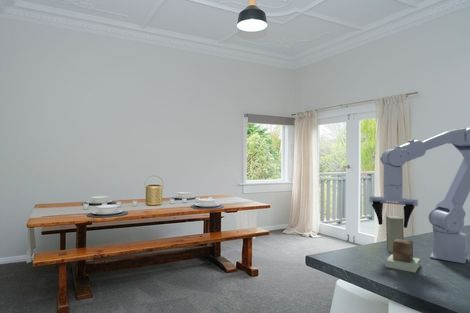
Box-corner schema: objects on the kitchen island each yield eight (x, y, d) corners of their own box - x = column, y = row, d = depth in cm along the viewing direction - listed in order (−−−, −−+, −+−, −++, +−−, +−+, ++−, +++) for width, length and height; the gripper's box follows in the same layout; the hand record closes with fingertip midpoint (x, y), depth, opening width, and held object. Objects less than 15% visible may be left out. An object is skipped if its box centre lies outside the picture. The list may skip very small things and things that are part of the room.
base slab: (419, 265, 99) (419, 258, 99) (415, 272, 93) (415, 265, 93) (391, 260, 104) (391, 253, 104) (385, 266, 98) (385, 260, 98)
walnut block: (412, 259, 99) (413, 241, 99) (409, 262, 95) (409, 244, 95) (396, 256, 102) (396, 238, 102) (393, 259, 98) (393, 241, 98)
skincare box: (404, 254, 111) (404, 218, 111) (390, 253, 112) (390, 218, 112) (398, 248, 117) (398, 215, 117) (385, 248, 118) (385, 214, 118)
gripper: (366, 184, 109) (366, 224, 109) (415, 187, 100) (415, 230, 100) (372, 183, 115) (372, 221, 115) (419, 185, 106) (419, 227, 106)
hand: (392, 225), depth 108 cm, fingers open, 7 cm apart
